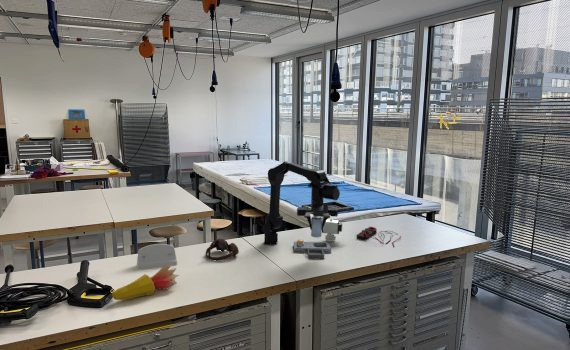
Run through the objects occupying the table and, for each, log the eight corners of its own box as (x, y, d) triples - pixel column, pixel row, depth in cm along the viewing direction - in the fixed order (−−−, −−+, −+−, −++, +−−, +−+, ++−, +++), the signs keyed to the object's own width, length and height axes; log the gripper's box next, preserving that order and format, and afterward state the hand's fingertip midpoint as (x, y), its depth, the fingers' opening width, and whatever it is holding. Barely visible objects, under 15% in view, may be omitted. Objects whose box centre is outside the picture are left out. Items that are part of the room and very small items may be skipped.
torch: (115, 312, 133) (178, 283, 151) (121, 310, 128) (186, 279, 145) (106, 290, 134) (170, 263, 151) (112, 287, 129) (178, 259, 146)
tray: (308, 258, 178) (308, 254, 177) (307, 252, 185) (307, 249, 185) (324, 258, 178) (324, 254, 177) (322, 253, 185) (322, 249, 185)
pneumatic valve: (340, 243, 200) (341, 221, 198) (318, 241, 203) (319, 219, 201) (342, 239, 205) (342, 218, 203) (320, 237, 208) (321, 216, 206)
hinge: (136, 269, 161) (135, 245, 163) (137, 269, 165) (136, 246, 167) (177, 265, 167) (176, 242, 169) (176, 264, 171) (175, 242, 173)
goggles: (242, 255, 179) (238, 237, 176) (220, 269, 170) (216, 249, 167) (221, 248, 189) (217, 230, 186) (200, 260, 180) (195, 241, 177)
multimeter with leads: (351, 232, 205) (367, 222, 226) (350, 240, 206) (367, 229, 227) (394, 240, 193) (407, 228, 214) (393, 249, 194) (407, 236, 215)
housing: (294, 252, 186) (294, 248, 185) (293, 245, 195) (293, 241, 195) (331, 252, 186) (331, 248, 185) (328, 245, 196) (328, 242, 195)
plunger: (296, 248, 189) (297, 241, 188) (296, 246, 192) (296, 239, 191) (303, 248, 189) (303, 241, 188) (302, 246, 192) (303, 239, 191)
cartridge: (311, 237, 177) (312, 218, 176) (310, 234, 182) (311, 215, 181) (321, 237, 178) (322, 218, 176) (320, 234, 182) (321, 216, 181)
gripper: (298, 200, 169) (297, 234, 171) (340, 201, 169) (338, 235, 172) (297, 195, 180) (296, 227, 182) (336, 196, 180) (335, 228, 183)
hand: (316, 229), depth 179 cm, fingers closed on cartridge, 5 cm apart
